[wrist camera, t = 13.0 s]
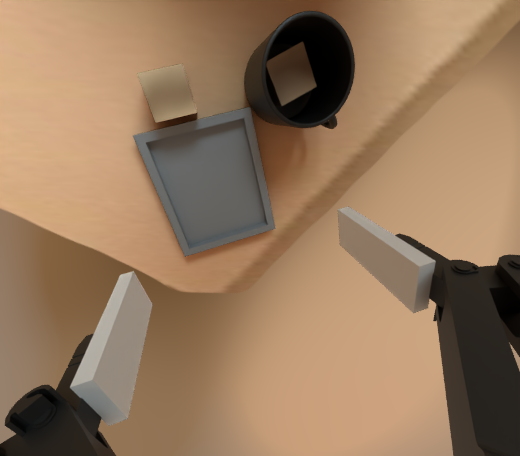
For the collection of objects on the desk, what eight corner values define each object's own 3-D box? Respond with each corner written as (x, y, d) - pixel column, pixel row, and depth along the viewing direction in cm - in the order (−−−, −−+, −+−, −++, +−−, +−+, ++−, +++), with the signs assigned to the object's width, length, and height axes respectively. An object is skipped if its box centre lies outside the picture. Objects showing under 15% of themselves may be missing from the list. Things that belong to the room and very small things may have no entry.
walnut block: (255, 69, 29) (264, 62, 25) (288, 50, 29) (302, 41, 25) (270, 107, 31) (281, 106, 28) (301, 89, 32) (316, 86, 28)
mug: (292, 152, 35) (321, 164, 27) (228, 85, 30) (240, 75, 22) (339, 98, 34) (385, 93, 26) (280, 17, 28) (314, -21, 20)
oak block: (145, 78, 28) (136, 73, 24) (184, 70, 28) (182, 63, 24) (160, 121, 30) (155, 122, 26) (197, 112, 30) (197, 112, 26)
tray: (136, 134, 30) (132, 135, 28) (247, 107, 31) (250, 107, 30) (185, 250, 37) (184, 256, 36) (272, 223, 39) (275, 228, 37)
